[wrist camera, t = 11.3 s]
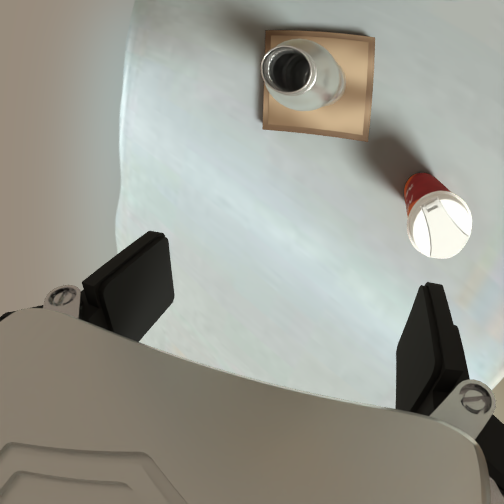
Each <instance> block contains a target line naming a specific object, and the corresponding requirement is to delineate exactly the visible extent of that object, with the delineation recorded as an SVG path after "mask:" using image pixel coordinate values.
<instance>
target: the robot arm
mask: <svg viewBox="0 0 504 504" xmlns="http://www.w3.org/2000/svg"><path fill="white" fill-rule="evenodd" d="M82 284H83V288H84V290H83V291H81V292H80V289H79V288H78V287H76V286H73V285H64V286H60V287H57V288H55V289H53V290H52V291H50V292H49V293H48V294H47V296H46V298H45V301H44V305H42V306H37V307H32V308H27V309H21V310H18V311H13V312H7V313H5V314H3V315H2V316H1V317H0V504H504V424H503V423H502V422H500V421H499V420H498V419H497V418H496V417H495V416H494V415H493V413H494V410H495V407H496V400H495V396H494V394H493V392H492V391H491V389H490V388H489V387H488V386H487V385H485V384H484V383H482V382H480V381H477V380H470V379H469V374H468V369H467V364H466V359H465V355H464V350H463V346H462V342H461V338H460V334H459V330H458V327H457V326H456V325H453V321H452V317H451V313H450V310H449V306H448V302H447V299H446V295H445V292H444V288H443V286H442V285H440V284H435V283H429V282H427V283H426V284H425V286H422V285H421V286H420V287H419V290H418V293H417V296H416V298H415V301H414V304H413V307H412V310H411V312H410V315H409V318H408V320H407V323H406V325H405V328H404V330H403V333H402V335H401V338H400V340H399V343H398V346H397V351H396V409H392V408H386V407H381V406H376V405H371V404H365V403H359V402H353V401H348V400H343V399H338V398H333V397H328V396H323V395H319V394H314V393H309V392H305V391H300V390H296V389H292V388H288V387H283V386H279V385H275V384H271V383H268V382H264V381H260V380H256V379H252V378H249V377H245V376H241V375H238V374H234V373H231V372H227V371H224V370H221V369H217V368H214V367H211V366H207V365H204V364H201V363H198V362H195V361H192V360H188V359H185V358H182V357H179V356H176V355H173V354H171V353H168V352H165V351H162V350H159V349H156V348H153V347H150V346H148V345H145V344H142V343H139V341H140V340H141V338H142V337H143V336H144V335H145V334H146V333H147V331H148V330H149V329H150V328H151V327H152V326H153V324H154V323H155V322H156V321H157V320H158V319H159V318H160V316H161V315H162V314H163V313H164V312H165V311H166V309H167V308H168V307H169V306H170V305H171V304H172V302H173V300H174V287H173V279H172V271H171V262H170V252H169V243H168V239H167V238H166V237H165V235H164V234H163V233H159V232H154V231H148V232H147V233H145V234H144V235H143V236H141V237H140V238H139V239H137V240H136V241H135V242H133V243H132V244H131V245H129V246H128V247H127V248H125V249H124V250H123V251H121V252H120V253H119V254H117V255H116V256H115V257H113V258H112V259H111V260H110V261H108V262H107V263H106V264H104V265H103V266H102V267H100V268H99V269H98V270H97V271H95V272H94V273H93V274H91V275H90V276H89V277H88V278H86V279H85V280H84V281H83V282H82Z"/></svg>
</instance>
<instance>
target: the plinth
mask: <svg viewBox="0 0 504 504" xmlns="http://www.w3.org/2000/svg"><path fill="white" fill-rule="evenodd" d="M291 39H306V40H310V41H313V42H315V43H317V44H319V45H321V46H323V47H324V48H325V49H326V50H328V52H329V53H330V54H331V55H332V56H333V58H334V60H335V61H336V62H337V63H338V64H339V65H340V66H341V68H342V70H343V71H344V74H345V77H346V88H345V91H344V93H343V95H342V97H341V98H340V99H339V100H338V101H336V102H335V103H333V104H331V105H328V106H323V107H321V108H318V109H316V110H311V111H297V110H293V109H290V108H287V107H285V106H283V105H282V104H280V103H279V102H278V101H276V100H275V99H274V98H273V97H272V95H271V94H270V93H269V91H268V89H267V88H266V85H265V82H264V100H263V129H264V130H276V131H287V132H297V133H307V134H315V135H323V136H331V137H339V138H346V139H352V140H359V141H365V142H368V137H369V127H370V116H371V104H372V91H373V75H374V55H375V37H368V36H360V35H351V34H342V33H331V32H316V31H293V30H266V34H265V54H266V53H267V52H268V51H269V50H270V49H272V48H274V47H276V46H277V45H278V44H280V43H282V42H284V41H288V40H291Z"/></svg>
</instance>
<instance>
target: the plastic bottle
mask: <svg viewBox="0 0 504 504" xmlns="http://www.w3.org/2000/svg"><path fill="white" fill-rule="evenodd" d="M260 71H261V76H262V78H263V80H264V82H265V85H266V88H267V89H268V91H269V93H270V94H271V95H272V97H273V98H274V99H275V100H276V101H278V102H279V103H280V104H282V105H283V106H285V107H287V108H290V109H293V110H297V111H311V110H316V109H318V108H321V107H323V106H328V105H331V104H333V103H335V102H336V101H338V100H339V99H340V98H341V97H342V95H343V93H344V91H345V88H346V77H345V74H344V71H343V70H342V68H341V66H340V65H339V64H338V63H337V62H336V61H335V60H334V58H333V56H332V55H331V54H330V53H329V52H328V50H326V49H325V48H324V47H323V46H321V45H319V44H317V43H315V42H313V41H310V40H306V39H291V40H288V41H284V42H282V43H280V44H278V45H277V46H276V47H274V48H272V49H270V50H269V51H268V52H267V53H266V54H265V55H264V57H263V59H262V61H261V65H260Z"/></svg>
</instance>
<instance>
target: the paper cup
mask: <svg viewBox="0 0 504 504" xmlns="http://www.w3.org/2000/svg"><path fill="white" fill-rule="evenodd" d="M404 196H405V203H406V209H407V215H408V220H407V232H408V236H409V239H410V241H411V243H412V244H413V246H414V247H415V248H416V249H417V250H418V251H419V252H420V253H422V254H424V255H426V256H428V257H433V258H440V259H441V258H450V257H452V256H454V255H456V254H457V253H459V252H460V251H461V249H462V248H463V247H464V246H465V244H466V242H467V241H468V239H469V237H470V234H471V228H472V217H471V213H470V210H469V208H468V206H467V204H466V203H465V202H464V200H463V199H462V198H460V197H459V196H458V195H456V194H454V193H452V192H450V191H449V190H448V189H447V188H446V187H445V186H444V185H443V184H442V183H441V182H440V181H438V180H437V179H436V178H435V177H433V176H432V175H430V174H427V173H417V174H414V175H413V176H411V177H410V178H409V179H408V181H407V182H406V185H405V188H404Z"/></svg>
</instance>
